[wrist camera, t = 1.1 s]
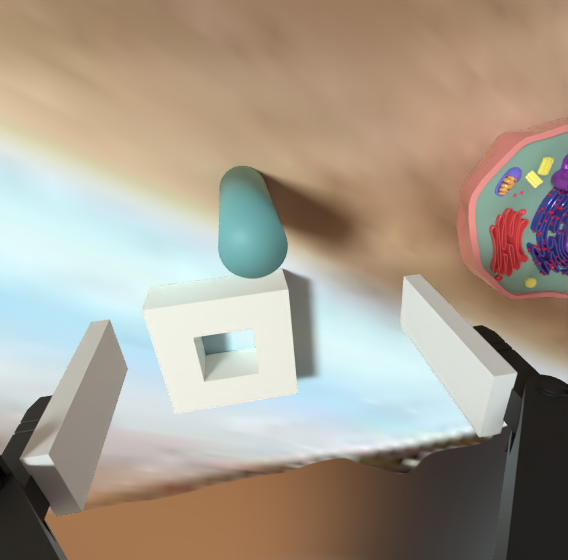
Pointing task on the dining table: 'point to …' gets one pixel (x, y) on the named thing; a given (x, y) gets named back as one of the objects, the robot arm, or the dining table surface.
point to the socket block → (215, 320)
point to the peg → (249, 225)
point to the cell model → (519, 213)
